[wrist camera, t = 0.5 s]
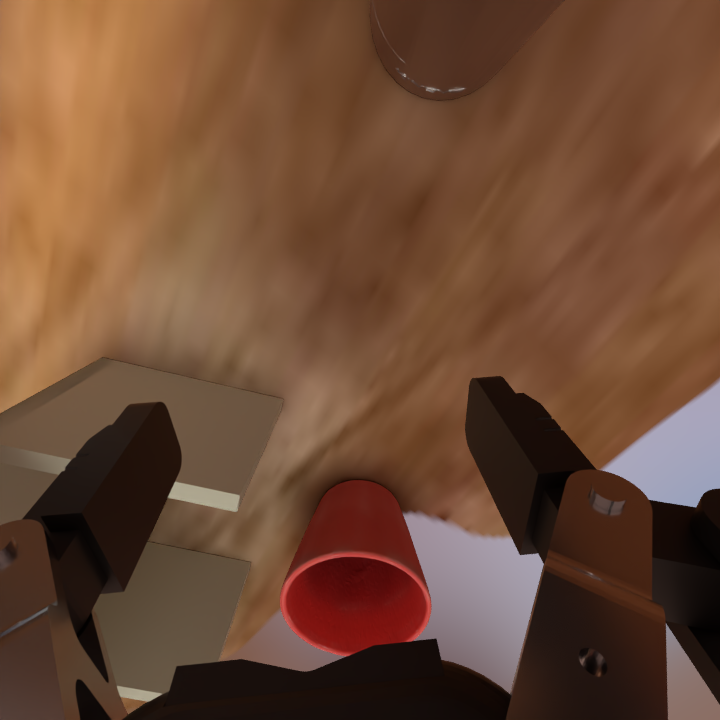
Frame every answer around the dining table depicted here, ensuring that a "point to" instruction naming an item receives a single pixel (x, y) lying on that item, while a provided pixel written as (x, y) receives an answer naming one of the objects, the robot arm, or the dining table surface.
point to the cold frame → (194, 484)
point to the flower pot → (356, 574)
